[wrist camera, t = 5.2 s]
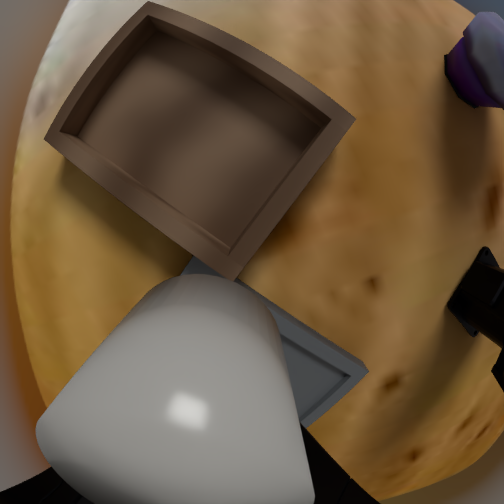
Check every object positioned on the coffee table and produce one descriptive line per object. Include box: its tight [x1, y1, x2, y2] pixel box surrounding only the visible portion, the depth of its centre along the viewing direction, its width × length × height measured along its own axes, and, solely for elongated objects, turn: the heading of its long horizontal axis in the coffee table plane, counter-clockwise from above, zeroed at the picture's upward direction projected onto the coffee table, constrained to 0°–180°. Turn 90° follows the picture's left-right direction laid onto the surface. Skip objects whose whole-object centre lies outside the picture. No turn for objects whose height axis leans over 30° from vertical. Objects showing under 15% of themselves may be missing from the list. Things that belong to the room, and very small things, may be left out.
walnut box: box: [44, 1, 356, 281], centre depth 14 cm, size 15×11×3 cm
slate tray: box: [180, 256, 369, 428], centre depth 19 cm, size 15×15×1 cm
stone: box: [36, 274, 315, 504], centre depth 5 cm, size 4×4×4 cm
